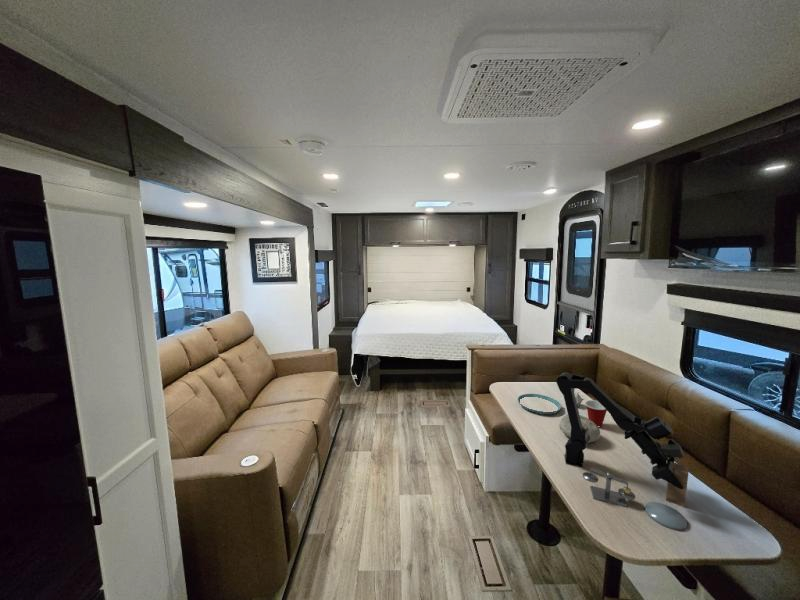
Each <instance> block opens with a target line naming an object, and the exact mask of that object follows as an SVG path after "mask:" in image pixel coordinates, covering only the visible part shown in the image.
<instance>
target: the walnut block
mask: <svg viewBox="0 0 800 600" xmlns="http://www.w3.org/2000/svg"><path fill="white" fill-rule="evenodd" d="M670 466H671V467H672V468H674V474H675V476H676V477H677V479H678V480H679V482H680V483H681V485H682V486H683V488H684V489H679V488H677V487H676V486H674V485H672V484H670V483H669V482H667V483H666V492H665V493H666V494H665V498H666V499H665V500H666V502H670V503H673V504H675V505H677V506H680V507H681V508H685V506H686V496H687V489H688V480H689V466H687V465H683V464H680V463H677V462H675V461H674V462H671V461H670Z"/></svg>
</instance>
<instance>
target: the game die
mask: <svg viewBox="0 0 800 600" xmlns="http://www.w3.org/2000/svg"><path fill="white" fill-rule="evenodd" d="M574 394H575V399H576V403H577V405H580V406H581V404H582V402H583V401H584V400H585V398H584V399H583V398H582V396H580V394H579V392H577V393H575V392H574Z"/></svg>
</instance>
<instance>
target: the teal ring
mask: <svg viewBox="0 0 800 600" xmlns="http://www.w3.org/2000/svg"><path fill="white" fill-rule="evenodd" d="M524 397H538V398H542V399H545V400H548V401H550V402H552V403H554V404H555V405H556V406H557V407H558V410H557V411H553V412H543V411H537V410H533V409H529V408H527V407H525V406H523V405H522V404H520V399H522V398H524ZM517 402H518V403H519V405H520V406H521V407H522V408H523V409H524V408H525V410H526V409H527V411H528V410H529V412H530V411H532V412H531V413H533V412H536V413H535V414H537V413H541V414H540V415H544V414H549V415H554V414H556V413H558V412H559V411H560V410H561V408H562V404H561V403H560V402H559V401H558V400H556V399H555V398H553V397H550V396H547V395H545V394H544V395H542V394H538V393H525V394H521V395H519V396H518V397H517ZM553 413H554V414H553Z"/></svg>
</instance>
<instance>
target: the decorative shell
mask: <svg viewBox="0 0 800 600" xmlns="http://www.w3.org/2000/svg"><path fill="white" fill-rule="evenodd" d="M579 415H580V414H579ZM580 419H581V423H582V426H583V427H584V429H588V432H589V436H590V437H591V438H590V440H589V442H588V444H590V443H593V442H596V441H598V440H599V439H600V437H601V429H600V428H599V427H598V426H597V425H596V424H595V423H594V422H592V421H591V420H589V418H588V417H586V416H584V415H582V414H581V415H580ZM558 427H559V429H560V431H561V432H562V433H563V434H565V436H567V437H569V438H570V437H571V424H570V420H569V416H568V414H565V415H564V416H562V418H560V421H559V425H558Z"/></svg>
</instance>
